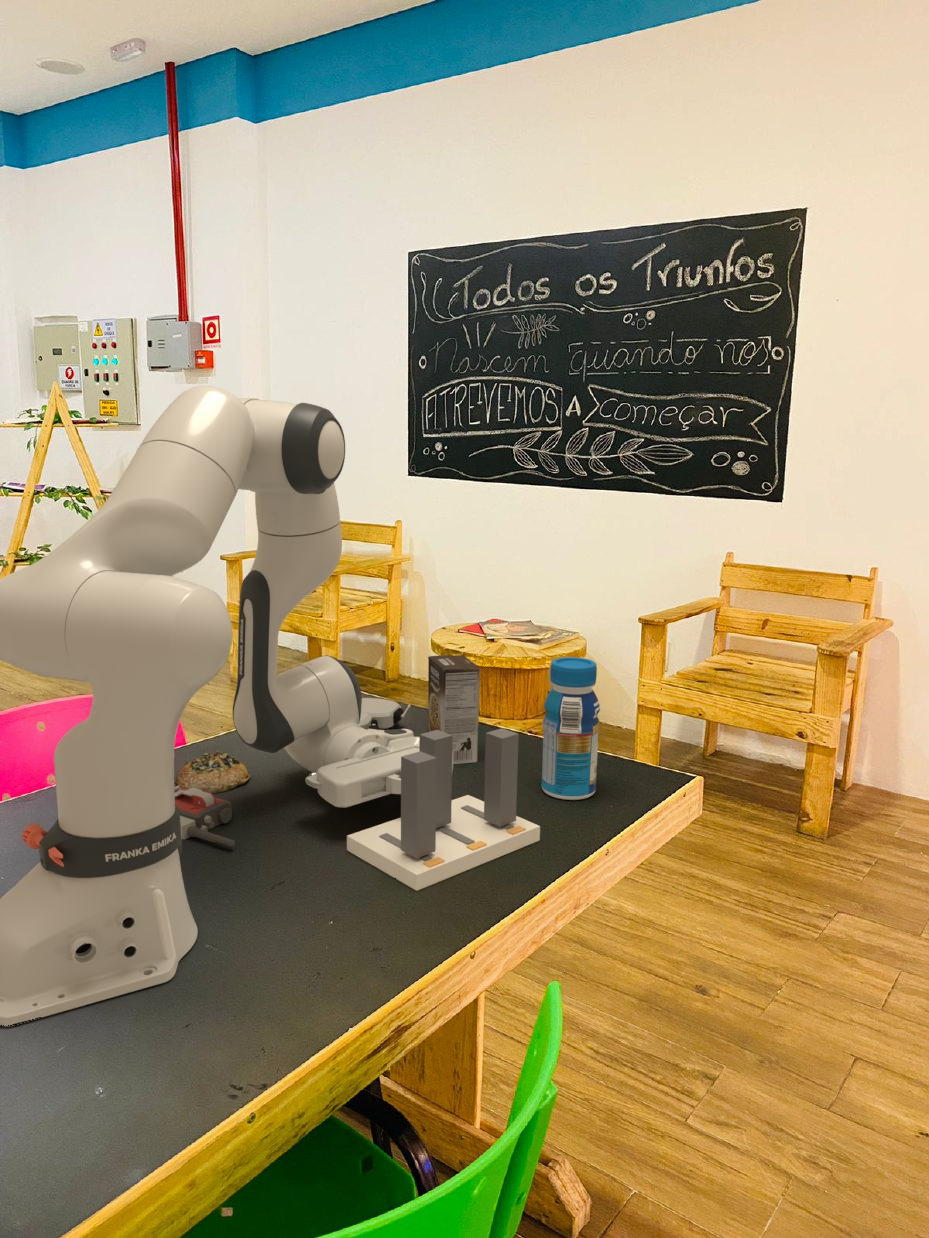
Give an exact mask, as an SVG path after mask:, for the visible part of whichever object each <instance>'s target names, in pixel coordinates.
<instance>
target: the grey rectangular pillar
mask: <svg viewBox="0 0 929 1238" xmlns="http://www.w3.org/2000/svg"><path fill="white" fill-rule="evenodd" d="M419 737H420V739H419V752H420V751H421V752H424V753H426V754H428V755H431V756H433V757H436V758H437V761H436V828H438V827H441V826H444V825H447V824H450V823H451V803H452V800H453V799H452V793H453V790H452V789H453V787H452V786H453V783H452V782H453V781H452V780H453V772H452V735H450V734H447V733H445V732H442V731H439V730H434V731H430V732H428V731H426V732H423V733H419Z"/></svg>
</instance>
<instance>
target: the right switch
mask: <svg viewBox="0 0 929 1238" xmlns="http://www.w3.org/2000/svg"><path fill="white" fill-rule="evenodd" d="M519 737H520V736H519V733H517V732H514V731H511V730H508V729H505V728H503V727H502V728H501V727H500V728H498V729H495V730H491V731H488V732H485V749H484V751H485V755H484V756H485V757H484V758H485V759H484V792H483V793H484V797H483V798H484V801H483V802H484V820H486V821H488V822H490V823H492V824H495V825H497V826H499V827H501V826H503V825H506V824H509V823H511V822H514V821H516V816H517V799H518V798H517V797H518V769H519V768H518V767H519V766H518V765H519V763H518V762H519Z"/></svg>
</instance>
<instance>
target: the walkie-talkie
mask: <svg viewBox="0 0 929 1238" xmlns="http://www.w3.org/2000/svg"><path fill="white" fill-rule="evenodd" d="M174 793H175V804H176V805H177V806H178V807H179V811H180V821H181V828H182V840H183V841H184V840H187V839H189V838H191V837H193V838H198V839H201V840H205V841H207V842H211V843H214V844H218V843H220V844H223V845H226V846H229V847H235V845H236V842H235V840H234V839H232V838H229V837H225V836H222V835H219V834H215V833H213V832H209V830H212V829H214V828H215V827H218V826H220V825H221V824H227V823H229V822H230V821H231V820H232V819H233V810H232V801H229V800H226V799H223V798H222V799H221V798H219V797H216V796H215V795H214V793H211V792H207V791H204V792H203V790H200V789H197V788H194V787H193V788H190V789H185V788H182V787H180V786H179V785H178V784H177V785H176V786H175V785H174Z"/></svg>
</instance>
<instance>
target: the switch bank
mask: <svg viewBox="0 0 929 1238" xmlns="http://www.w3.org/2000/svg"><path fill="white" fill-rule="evenodd" d="M540 837H541V825H538V824H536V823H534V822H531V821H529V820H527V819H525V818H522V817H520V816H518V815H516V821H514V822H511V823H509V824H506V825H503V826H501V827H499V826H497V825H495V824H492V823H490V822H488V821H486V820H484V801H483V800H481V799H479V798H476V797H474V796H471V795H469V794H466V795H463V796H461V797H457V798H455V799H452V803H451V823H450V824H447V825H444V826H441V827H438V828H436V849H435V852H432V853H430V854H427V855H425V856H422V857H419V858H417V859H416V858H414V857H413V856H411V855H409V854H407V853H405V852H403V851H402V850H401V817H398V818H396V819H392V820H389V821H386V822H383V823H381V824H378V825H375V826H372V827H369V828H365V829H362V830H360V831H356V832H353V833H351V834H348V835H346V851H348V852H349V853H351V854H353V855H354V856H356V857H358V858H359V859H361V860H362V861H364V862H367V863H368V864H369V865H371V866H373V867H375V868H377V869H379V870H380V871H382V872H383V873H385V874H387V875H389V876H390V877H392V878H393V879H395V878H396V879H395V880H397V881H399V882H401V883H402V884H404V885H406V886H408V887H409V888H411V889H413V890H415V891H420V890H422V889H425V888H427V887H430V886H432V885H434V884H437V883H439V882H442V881H444V880H447V879H449V878H451V877H453V876H456V875H458V874H461V873H464V872H466V871H468V870H471V869H474V868H476V867H478V866H480V865H483V864H486V863H488V862H491V861H493V860H495V859H498V858H500V857H502V856H504V855H507V854H510V853H512V852H514V851H517V850H520V849H522V848H525V847H526V846H529V845H532V844H534V843H536V842H539V841H540Z"/></svg>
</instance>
